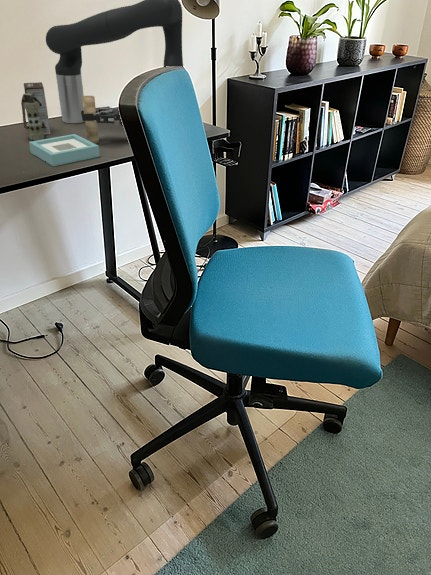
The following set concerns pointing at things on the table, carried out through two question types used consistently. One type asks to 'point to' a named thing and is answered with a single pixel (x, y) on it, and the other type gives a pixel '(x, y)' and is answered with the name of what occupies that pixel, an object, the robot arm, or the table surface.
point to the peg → (90, 125)
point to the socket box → (64, 149)
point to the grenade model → (32, 116)
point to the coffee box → (40, 96)
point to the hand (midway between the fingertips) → (81, 115)
